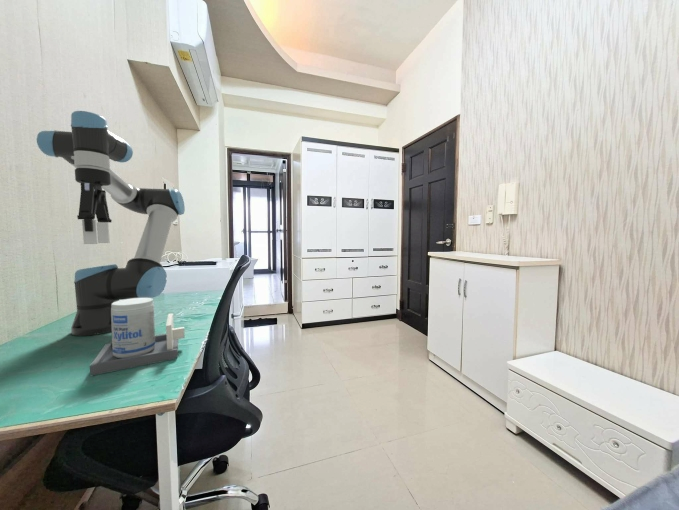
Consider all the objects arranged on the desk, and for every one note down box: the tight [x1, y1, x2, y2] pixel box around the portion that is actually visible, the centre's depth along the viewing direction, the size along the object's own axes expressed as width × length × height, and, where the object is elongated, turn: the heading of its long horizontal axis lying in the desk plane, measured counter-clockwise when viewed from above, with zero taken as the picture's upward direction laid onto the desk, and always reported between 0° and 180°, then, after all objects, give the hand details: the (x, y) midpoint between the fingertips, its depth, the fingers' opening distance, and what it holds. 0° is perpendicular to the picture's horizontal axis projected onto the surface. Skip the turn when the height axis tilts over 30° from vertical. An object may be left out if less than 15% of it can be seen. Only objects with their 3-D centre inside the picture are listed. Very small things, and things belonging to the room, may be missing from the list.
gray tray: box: [89, 333, 179, 377], centre depth 76 cm, size 16×18×2 cm
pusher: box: [165, 313, 186, 350], centre depth 80 cm, size 13×4×8 cm, turn 30°
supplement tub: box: [111, 298, 156, 358], centre depth 75 cm, size 10×10×15 cm
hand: (97, 243), depth 78 cm, fingers open, 13 cm apart
